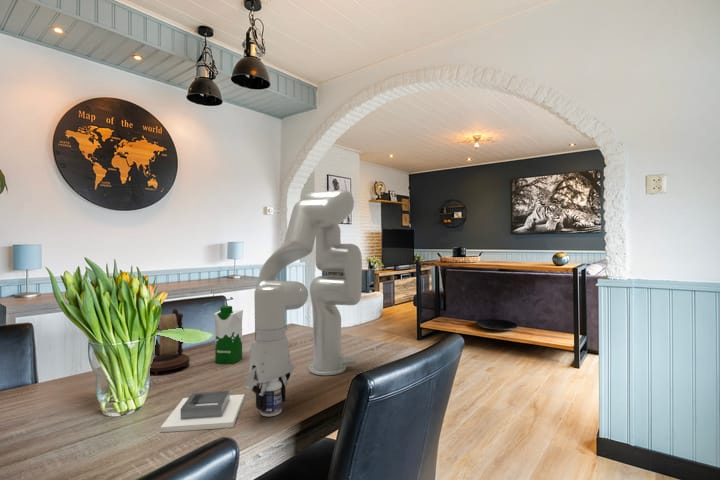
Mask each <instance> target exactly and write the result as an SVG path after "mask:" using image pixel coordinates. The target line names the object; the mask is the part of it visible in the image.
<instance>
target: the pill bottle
mask: <svg viewBox="0 0 720 480" xmlns="http://www.w3.org/2000/svg"><path fill="white" fill-rule="evenodd" d="M260 387H261V384H260ZM260 387H259V388H260ZM264 394H265V395H266V408H267V409H266V411H262V410H259V411H260V414H261V416H263V417H275V416H278V415H279V414H280V413H282V410H283V402H282V383H281V382H280V381H279V378H276V379H274V380H271V381H269V382H267V384H266V388H265V392H264Z"/></svg>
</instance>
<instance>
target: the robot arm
mask: <svg viewBox="0 0 720 480" xmlns="http://www.w3.org/2000/svg"><path fill="white" fill-rule="evenodd" d="M354 207H355V199H354V197H353V194H352V193H351V192H350V191H349V190H346V189H345V190H343V189H341V190H339V189H338V190H337V189H336V190H318V191H317V190H316V191H312V192H308V193H306V194H305V195H304V196H303V198H302V200H299V201H297V202H296V203H295V204H294V206H293V208H292V211H291V214H290V217H289V218H290V219H289V223H288V226H287V229H286V233H285V236H284V240H283V243H282V244H281V246H279V247H278V248H277V249H276V250H275V251H274V252H273V253H272V254H271V255H270V256H269V257H268V258H267V260H266V261H265V262H264V263H263V264H262V267H261V269H260V272H259V275H258V279H257V282H256V286H255V290H254V294H253V295H254V299H253V300H254V340H253V341H252V342H251V347H250V351H249V357H248V358H249V359H248V361H249V362H248V376H247V379H246V380H245V382H244V384H243V385H244V387H246V388H247V389H248V390H250V391H251V392H253V393H254V394H255V407H256V409H258V410H259V411H260V410H262V411H266V409H267V408H266V395H265V394H264V392H265V388H266V384H267V382H269V381H271V380H274V379H276V378H279V381H280V382H281V383H282V403H285V402H286V397H287V396H286V386H287V385H288V381H289V379H290V377H291V374H292V373H293V371H294V370H295V365H293V364H292V363H291V357H290V355H291V354H290V348H289V347H290V346H288V344H289V343H288V341H289V340H288V338H287V336H286V331H288V326H287V325H286V311H291V310H297V309H300V308H302V307H303V306H304V305H305V304H306V303H307V301H308V298H309V295H310V300H311V306H312V345H313V346H312V347H313V348H312V349H313V350H312V353H313V354H312V355H313V356H312V358H313V361H312V363H310V364H309V365H308V371H309V372H310V373H312V374H313V375H318V376H333V375H338V374H341V373H344V372H345V371H346V369H347V364H350V365H352V364H356V357H352V356H351V355H349V356H344V355H343V354H342V316H341V312H340V310H339V309H338V306H339V305H340V306H356V305H357V304H359V303H360V300H361V299H362V298H361V297H362V286H363V282H362V281H363V276H362V275H363V256H362V252H361V250H360V247H359V246H358V245H356V244H353V243H341V227H340V224H341V223H342V222H344V220H346V219H347V218H349V217H350V215H351V214H352V212H353V209H354ZM314 244H315V250H314V251H315V252H314V254H315V255H314V256H315V258H314V261H315V263H314V264H315V267H316V268H317V270H319V271H321V272H329V273H344V275H345V276H343V275H341V276H339V275H320V276H316V277H315V278H313V280H312V281H311V283H310V284H309V291H308V288H307V287H306V285H305V284H304V283H302V282H300V281H296V280H295V281H294V280H293V281H292V280H277V278H278V276H279V274H280V273H281V272H282V270H283V269H285V268H286V267H287V266H289V265H291V264H293V263H295V262H297V261H299V260H301V259H304V258H306V257H307V256H309V255H310V254H311V253H312V252H313V249H314ZM337 305H338V306H337ZM254 383H255V384H254ZM260 385H261V387H260Z"/></svg>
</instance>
